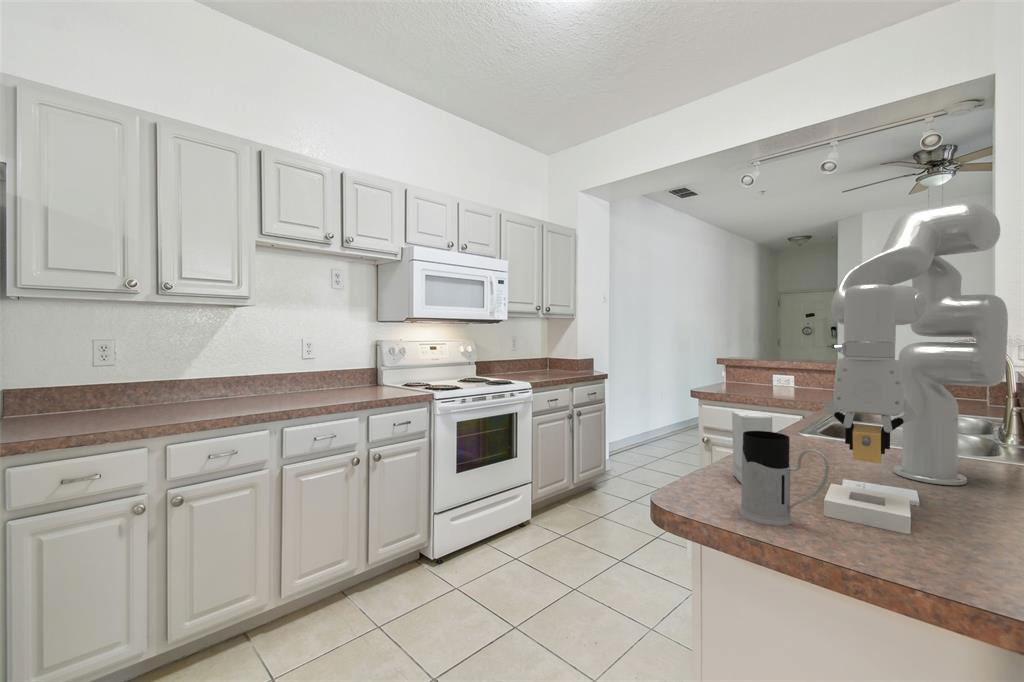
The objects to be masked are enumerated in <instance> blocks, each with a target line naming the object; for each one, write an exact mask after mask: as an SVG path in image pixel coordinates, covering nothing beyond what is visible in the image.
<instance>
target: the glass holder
mask: <svg viewBox="0 0 1024 682" xmlns="http://www.w3.org/2000/svg"><path fill="white" fill-rule="evenodd" d="M790 438H791V437H790V436H788V435H786V434H784V433H779V432H774V431H772V432H767V431H746V432H743V446H742V484H741V500H740V501H741V505H740V507H739V510H738V513H739V515H740V516H741V517H743V518H744V519H746V520H748V521H751V522H753V523H757V524H760V525H766V526H773V527H776V526H777V527H778V526H779V527H782V526H788V525H791V524H793V522H794V519H793V517H792V515H791V513H792V509H793V508H794V507H796V506H797V505H799V504H801V503H804V502H806V501H807V500H809V499H812V498H813V497H815V496H817V495H818V494H819V493H820V492H821V490H822V489H823V488H824V486H825V485H826V483H827V480H828V476H829V470H830V469H829V466H830V465H829V460H828V459H827V456H826V455H824V454H823V453H822V452H821V451H818V450H816V449H806V450H803V451H802V452H801V453H800V455H799V456H798V460H797V467H796V468H791V464H790V442H791V441H790ZM809 452H812V453H815V454H818V455H819V456H820V457H822V459H823V461H824V463H825V471H824V477H823V480H822V483H820V485H819V486H818V488H817V489H816V490H815V491H814V492H813V493H812V494H810V495H809V496H807V497H806V496H805V498H802V499H800V500H798V501H796V502H794V503H792V504H791V472H797V471H800V470H801V466H802V460H803V457H804V455H806V453H809Z"/></svg>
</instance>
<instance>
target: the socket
mask: <svg viewBox="0 0 1024 682" xmlns="http://www.w3.org/2000/svg"><path fill="white" fill-rule="evenodd" d="M823 516H824V517H827V518H832V519H836V520H841V521H845V522H850V523H855V524H859V525H864V526H868V527H874V528H877V529H883V530H887V531H892V532H897V533H902V534H906V535H911V526H912V525H911V524H912V523H911V518H912V517H911V505H910V502H909V497H906V496H900V495H894V494H888V493H883V492H877V491H871V490H866V489H860V488H854V487H849V486H843V485H842V484H838V483H837V484H836V483H832V482H831V483H830V486H829V488H828V490H827V492H826V495H825V497H824V499H823Z"/></svg>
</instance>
